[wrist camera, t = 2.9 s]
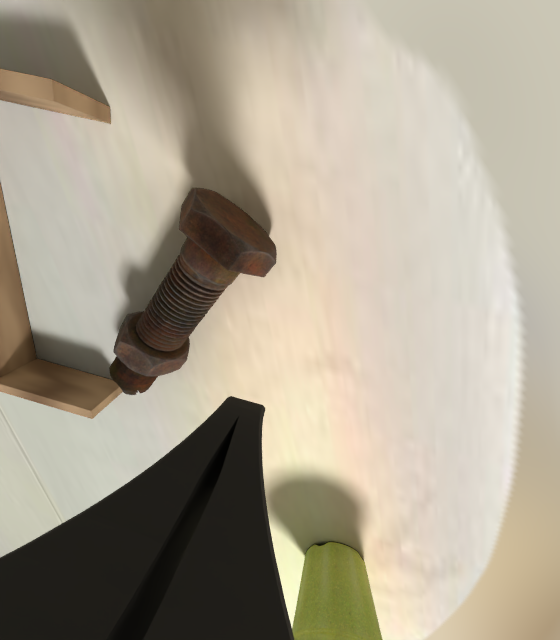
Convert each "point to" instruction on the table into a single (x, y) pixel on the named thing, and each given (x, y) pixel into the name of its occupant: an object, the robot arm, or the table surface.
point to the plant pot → (335, 597)
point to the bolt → (190, 288)
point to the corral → (6, 290)
